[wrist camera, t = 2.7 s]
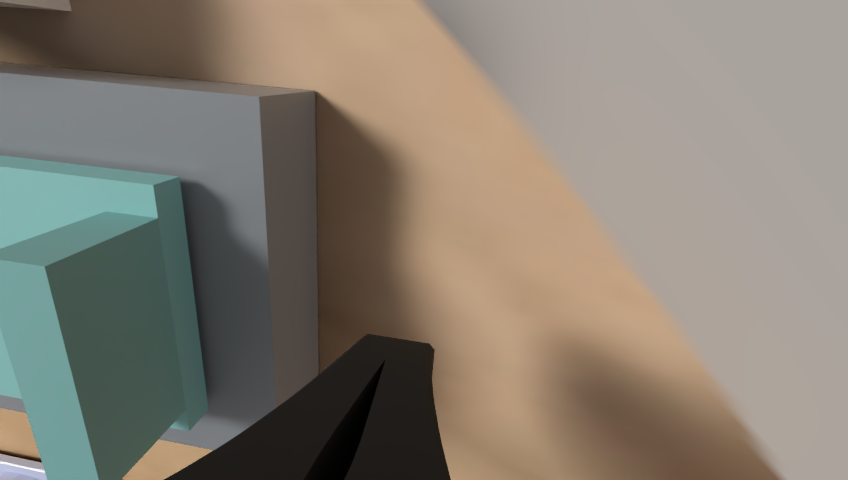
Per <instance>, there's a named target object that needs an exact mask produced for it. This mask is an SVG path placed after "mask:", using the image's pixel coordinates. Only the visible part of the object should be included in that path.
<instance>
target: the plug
mask: <svg viewBox="0 0 848 480" xmlns="http://www.w3.org/2000/svg"><path fill="white" fill-rule="evenodd" d="M0 6H3V7H17V8H31V9H45V10H59V11H71V6H70V1H69V0H0Z"/></svg>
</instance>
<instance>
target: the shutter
mask: <svg viewBox="0 0 848 480" xmlns="http://www.w3.org/2000/svg"><path fill="white" fill-rule="evenodd" d="M0 395H4V396H9V397H14V398H20V399H22V400H23V403H24V406H25V409H26V412H27V416H28V419H29V422H30V425H31V429H32V432H33V435H34V438H35V441H36V445H37V448H38V451H39V454H40V457H41V461H42V464H43V467H44V470H45V474H46V477H47V480H121V479H122V478H123V477H124V476H125V475H126V474H127V473H128V471H129V470H130V469H131V468H132V467H133V466H134V465H135V464H136V463H137V462H138V461H139V460H140V459H141V458H142V456H143V455H144V454H145V453H146V452H147V451H148V450H149V449H150V448H151V447H152V446H153V445H154V444H155V442H156V441H157V440H158V439H159V438H160V437H161V436H162V435H163V434H164V433H165V432H166V431H167V430H168V429H169V428H174V429H179V430H184V431H190V430H191V429H192V428H193V427H194V426H195V424H196V423H197V422H198V421H199V420H200V419H201V418H202V416H203V415H204V414H205V413H206V412H207V411H208V402H207V394H206V386H205V378H204V370H203V362H202V354H201V346H200V338H199V330H198V322H197V313H196V305H195V297H194V289H193V281H192V273H191V265H190V257H189V249H188V241H187V233H186V225H185V217H184V209H183V201H182V193H181V185H180V177H179V176H170V175H162V174H154V173H145V172H137V171H128V170H120V169H112V168H103V167H95V166H86V165H78V164H70V163H61V162H53V161H44V160H36V159H28V158H19V157H11V156H2V155H0Z"/></svg>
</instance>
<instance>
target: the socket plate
mask: <svg viewBox="0 0 848 480" xmlns="http://www.w3.org/2000/svg"><path fill="white" fill-rule="evenodd" d="M0 155H2V156H11V157H19V158H28V159H36V160H44V161H53V162H61V163H70V164H78V165H86V166H95V167H103V168H112V169H120V170H128V171H137V172H145V173H154V174H162V175H170V176H179V177H180V185H181V193H182V201H183V209H184V217H185V225H186V233H187V241H188V249H189V257H190V265H191V273H192V281H193V289H194V297H195V305H196V313H197V322H198V330H199V338H200V346H201V354H202V362H203V370H204V378H205V386H206V394H207V402H208V411H207V412H206V413H205V414H204V415H203V416H202V418H201V419H200V420H199V421H198V422H197V423H196V424H195V426H194V427H193V428H192V429H191V430H190V431H184V430H179V429H174V428H169V429H168V430H167V431H166V432H165V433H164V434H163V435H162V436H161V437H160V438H159V439H160V440H165V441H170V442H175V443H180V444H186V445H191V446H196V447H201V448H206V449H211V450H215V449H217V448H218V447H220V446H221V445H223V444H225V443H226V442H228V441H229V440H231V439H232V438H234V437H235V436H237V435H238V434H240V433H241V432H243V431H244V430H246V429H247V428H248V427H250V426H251V425H253V424H254V423H255V422H257V421H258V420H260V419H261V418H262V417H264V416H265V415H267V414H268V413H269V412H271V411H272V410H274V409H275V408H276V407H278V406H279V405H281V404H282V403H283V402H285V401H286V400H287V399H289V398H290V397H291V396H293V395H294V394H295V393H296V392H298V391H299V390H300V389H301V388H303V387H304V386H305V385H306V384H308V383H309V382H310V381H312V380H313V379H314V378H315V377H317V376H318V375H319V352H318V272H317V193H316V113H315V91H312V90H301V89H290V88H279V87H267V86H256V85H245V84H234V83H223V82H212V81H201V80H190V79H178V78H167V77H156V76H145V75H134V74H123V73H112V72H101V71H89V70H78V69H67V68H56V67H45V66H34V65H23V64H12V63H0ZM0 408H4V409H9V410H14V411H19V412H24V413H27V412H26V409H25V406H24V403H23V400H22V399H20V398H14V397H9V396H4V395H0Z"/></svg>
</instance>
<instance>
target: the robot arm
mask: <svg viewBox="0 0 848 480" xmlns="http://www.w3.org/2000/svg"><path fill="white" fill-rule="evenodd" d="M433 360H434V349H433V348H432V346H431V345H430V344H428V343H421V342H415V341H409V340H402V339H396V338H390V337H384V336H377V335H371V334H367V335H366V336H364V337H363V338H362V339H360V340H359V341H358V342H357V343H356V344H355V345H353V346H352V347H351V348H350V349H349V350H348V351H346V352H345V353H344V354H343V355H342V356H341V357H339V358H338V359H337V360H336V361H335V362H334V363H332V364H331V365H330V366H329V367H328V368H326V369H325V370H324V371H323V372H322V373H320V374H319V375H318V376H317V377H315V378H314V379H313V380H312V381H310V382H309V383H308V384H306V385H305V386H304V387H303V388H301V389H300V390H299V391H298V392H296V393H295V394H294V395H293V396H291V397H290V398H289V399H287V400H286V401H285V402H283V403H282V404H281V405H279V406H278V407H276V408H275V409H274V410H272V411H271V412H269V413H268V414H267V415H265V416H264V417H262V418H261V419H260V420H258V421H257V422H255V423H254V424H253V425H251V426H250V427H248V428H247V429H246V430H244V431H243V432H241V433H240V434H238V435H237V436H235V437H234V438H232V439H231V440H229V441H228V442H226V443H225V444H223V445H221V446H220V447H218V448H217V449H215V450H214V451H212V452H210V453H209V454H207V455H206V456H204V457H202V458H201V459H199V460H197V461H196V462H194V463H192V464H191V465H189V466H187V467H186V468H184V469H182V470H180V471H179V472H177V473H175V474H173V475H172V476H170V477H168V478H166V479H165V480H451V479H450V475H449V471H448V467H447V463H446V459H445V455H444V451H443V447H442V443H441V438H440V433H439V428H438V422H437V416H436V410H435V405H434V397H433V387H432V370H433ZM0 480H47V477H46V474H45V470H44V467H43V464H42V462H37V461H32V460H28V459H23V458H18V457H13V456H9V455H4V454H0Z"/></svg>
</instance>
